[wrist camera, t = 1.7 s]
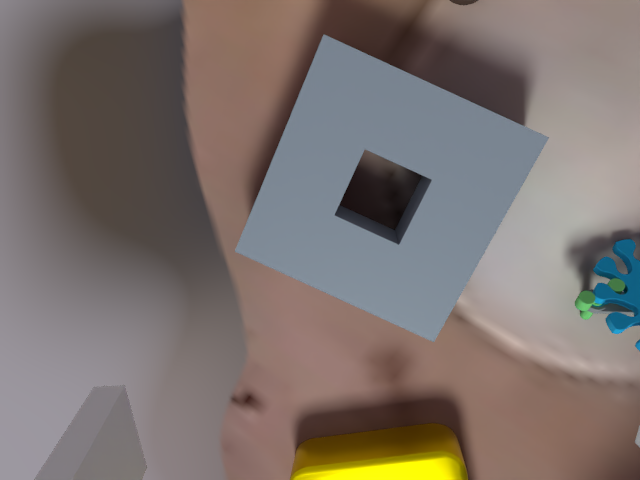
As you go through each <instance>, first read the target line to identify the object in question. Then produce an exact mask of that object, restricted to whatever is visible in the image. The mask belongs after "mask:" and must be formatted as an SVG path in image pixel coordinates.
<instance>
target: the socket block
mask: <svg viewBox="0 0 640 480" xmlns="http://www.w3.org/2000/svg"><path fill="white" fill-rule="evenodd" d="M548 138H549V137H547V136H544V135H542V134H540V133H538V132H536V131H533V130H531V129H529V128H527V127H525V126H523V125H520V124H518V123H516V122H514V121H512V120H509V119H507V118H505V117H503V116H501V115H499V114H496V113H494V112H492V111H490V110H488V109H486V108H483V107H481V106H479V105H477V104H475V103H472V102H470V101H468V100H466V99H464V98H462V97H459V96H457V95H455V94H453V93H451V92H448V91H446V90H444V89H442V88H440V87H438V86H435V85H433V84H431V83H429V82H427V81H425V80H422V79H420V78H418V77H416V76H414V75H411V74H409V73H407V72H405V71H403V70H401V69H398V68H396V67H394V66H392V65H390V64H387V63H385V62H383V61H381V60H379V59H377V58H374V57H372V56H370V55H368V54H366V53H363V52H361V51H359V50H357V49H355V48H353V47H350V46H348V45H346V44H344V43H342V42H340V41H337V40H335V39H333V38H331V37H329V36H326V35H323V37H322V40H321V42H320V44H319V47H318V49H317V52H316V54H315V57H314V59H313V62H312V64H311V66H310V69H309V71H308V74H307V76H306V79H305V81H304V84H303V86H302V88H301V91H300V93H299V96H298V98H297V101H296V103H295V106H294V108H293V110H292V113H291V115H290V118H289V120H288V123H287V125H286V128H285V130H284V132H283V135H282V137H281V140H280V142H279V145H278V147H277V150H276V152H275V154H274V157H273V159H272V162H271V164H270V167H269V169H268V172H267V174H266V176H265V179H264V181H263V184H262V186H261V189H260V191H259V194H258V196H257V198H256V201H255V203H254V206H253V208H252V211H251V213H250V216H249V218H248V221H247V223H246V225H245V228H244V230H243V233H242V235H241V238H240V240H239V243H238V245H237V247H236V250H235V252H237V253H240V254H242V255H244V256H246V257H248V258H251V259H253V260H255V261H257V262H259V263H261V264H264V265H266V266H268V267H270V268H272V269H275V270H277V271H279V272H281V273H283V274H286V275H288V276H290V277H292V278H294V279H297V280H299V281H301V282H303V283H305V284H308V285H310V286H312V287H314V288H316V289H318V290H321V291H323V292H325V293H327V294H329V295H332V296H334V297H336V298H338V299H340V300H343V301H345V302H347V303H349V304H351V305H354V306H356V307H358V308H360V309H362V310H364V311H367V312H369V313H371V314H373V315H375V316H378V317H380V318H382V319H384V320H386V321H389V322H391V323H393V324H395V325H397V326H400V327H402V328H404V329H406V330H408V331H411V332H413V333H415V334H417V335H419V336H421V337H424V338H426V339H428V340H430V341H432V342H434V341H435V339H436V337H437V336H438V334H439V332H440V330H441V329H442V327H443V325H444V323H445V321H446V320H447V318H448V316H449V314H450V313H451V311H452V309H453V307H454V305H455V304H456V302H457V300H458V298H459V297H460V295H461V293H462V291H463V289H464V288H465V286H466V284H467V282H468V281H469V279H470V277H471V275H472V273H473V272H474V270H475V268H476V266H477V265H478V263H479V261H480V259H481V257H482V256H483V254H484V252H485V250H486V249H487V247H488V245H489V243H490V241H491V240H492V238H493V236H494V234H495V233H496V231H497V229H498V227H499V225H500V224H501V222H502V220H503V218H504V217H505V215H506V213H507V211H508V209H509V208H510V206H511V204H512V202H513V201H514V199H515V197H516V195H517V193H518V192H519V190H520V188H521V186H522V185H523V183H524V181H525V179H526V177H527V176H528V174H529V172H530V170H531V169H532V167H533V165H534V163H535V161H536V160H537V158H538V156H539V154H540V153H541V151H542V149H543V147H544V145H545V144H546V142H547V140H548ZM365 149H366V150H368V151H370V152H372V153H374V154H377V155H379V156H381V157H383V158H385V159H388V160H390V161H392V162H394V163H396V164H398V165H401V166H403V167H405V168H407V169H409V170H412V171H414V172H416V173H418V174H420V175H422V177H421V179H420V181H419V183H418V185H417V187H416V189H415V191H414V193H413V195H412V197H411V199H410V201H409V203H408V205H407V207H406V209H405V211H404V213H403V215H402V217H401V219H400V221H399V223H398V225H397V227H396V229H395V230H393V229H391V228H389V227H387V226H384V225H382V224H380V223H378V222H376V221H374V220H371V219H369V218H367V217H365V216H363V215H360V214H358V213H356V212H354V211H352V210H349V209H347V208H345V207H343V206H341V205H339V204H340V202H341V200H342V198H343V195H344V193H345V191H346V189H347V187H348V184H349V182H350V180H351V178H352V176H353V174H354V171H355V169H356V167H357V165H358V163H359V161H360V158H361V156H362V154H363V152H364V150H365Z"/></svg>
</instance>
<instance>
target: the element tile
mask: <svg viewBox="0 0 640 480" xmlns="http://www.w3.org/2000/svg"><path fill="white" fill-rule="evenodd" d="M290 480H468V474H467V469H466V466H465V462H464V459H463V456H462V452H461V449H460V445H459V442H458V439H457V437H456V435H455V434H454V432H453V431H452V429H450V428H448V427H447V426H445V425H441V424H437V423H428V424H421V425H413V426H405V427H397V428H389V429H382V430H374V431H366V432H358V433H350V434H342V435H335V436H327V437H319V438H311V439H309V440H306V441H305V442H303V443H301V444H300V445H299V447H298V448H297V450H296V454H295V459H294V463H293V468H292V472H291V477H290Z"/></svg>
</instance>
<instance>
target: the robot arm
mask: <svg viewBox="0 0 640 480" xmlns="http://www.w3.org/2000/svg"><path fill="white" fill-rule="evenodd" d="M635 443H636V444H637V445H638V446H639V448H640V426H639V429H638V433H637V437H636V440H635ZM146 468H147V465H146V461H145V458H144V454H143V451H142V447H141V443H140V439H139V436H138V432H137V429H136V425H135V421H134V418H133V414H132V410H131V406H130V403H129V399H128V395H127V392H126V388H125V386H124V385H122V386H102V387H94V388H93V389H92V391H91V393H90V394H89V395H88V397H87V398H86V400H85V402H84V403H83V405H82V406H81V408H80V409H79V411H78V413H77V414H76V416H75V417H74V419H73V420H72V422H71V423H70V425H69V426H68V428H67V430H66V431H65V433H64V434H63V436H62V437H61V439H60V440H59V442H58V444H57V445H56V447H55V448H54V450H53V451H52V453H51V454H50V456H49V457H48V459H47V461H46V462H45V464H44V465H43V467H42V468H41V470H40V471H39V473H38V474H37V476H36V478H35V479H34V480H142V478H143V476H144V473H145V471H146Z"/></svg>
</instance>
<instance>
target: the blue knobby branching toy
mask: <svg viewBox="0 0 640 480" xmlns="http://www.w3.org/2000/svg"><path fill="white" fill-rule="evenodd" d="M635 247H636V245H635V242H634V241H633V240H631V239H625V240H620V241H617V242H616V243H615V244H614V246H613V248H612V250H613V252H614V253H615V255H617V256H618V257H620V258H621V259H622V260H623V262H624V263H625V265H626V267H627V270H628V274H622V273H620V272H618V270H617V268H616V264H615V262H614V260H613V259H611V258H610V257H607V256H606V257H604V258H602V259H601V260H600V261H599V262H598V263H597V264H596V266H595V267H594V269H593V271H594V272H595V273H596V274H597V275H599V276H602V277H606V278H608V279H610V281H609V283H608V284H604V283H598V284H597V285H596V287H595V288H594V290H589V291H582V292H581V293H580V294H579V296H578V298H577V299H576V301H575V306H576V308H577V309H579V310H581V313H580V316H581V317H582V318H583V319H589V318H590V317H591V316H592V314H593V313H602V314H609V315H608V316H607V318H606V323H607V325H608V327H609V329H610V330H611V332H612V333H614V334H619V333H622V332H623V331H624V330H625V329H627V328H629V327H631V326H637V325H640V261H639V260H637V259H635V258H634V256H633V252H634V250H635ZM622 291H624V292H622ZM625 314H634V317H629V316H627V315H625ZM635 346H636V348H637V349H638V350H639V351H640V340H639V341H637V342H636V345H635Z"/></svg>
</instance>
